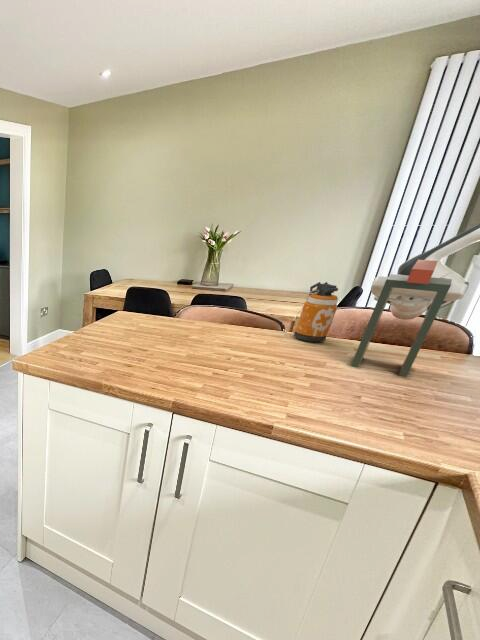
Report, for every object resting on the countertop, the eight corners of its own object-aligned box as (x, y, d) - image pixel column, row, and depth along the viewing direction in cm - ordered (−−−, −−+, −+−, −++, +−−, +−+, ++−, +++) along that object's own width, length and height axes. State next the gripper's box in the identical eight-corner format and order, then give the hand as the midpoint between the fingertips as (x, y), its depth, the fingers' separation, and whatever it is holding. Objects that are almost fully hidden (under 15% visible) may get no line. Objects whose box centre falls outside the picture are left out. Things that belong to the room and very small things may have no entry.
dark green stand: (409, 366, 119) (452, 279, 108) (406, 377, 113) (451, 285, 102) (356, 356, 128) (390, 274, 117) (350, 365, 121) (386, 279, 110)
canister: (302, 342, 140) (321, 285, 132) (284, 333, 150) (302, 279, 142) (330, 343, 139) (352, 286, 131) (311, 333, 149) (330, 279, 141)
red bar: (432, 273, 117) (438, 260, 115) (428, 284, 104) (434, 270, 102) (412, 271, 119) (418, 259, 118) (406, 282, 106) (412, 268, 105)
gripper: (456, 309, 123) (468, 293, 113) (367, 299, 137) (370, 284, 127) (465, 290, 123) (477, 272, 113) (375, 282, 137) (378, 265, 127)
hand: (420, 278), depth 120 cm, fingers open, 8 cm apart
